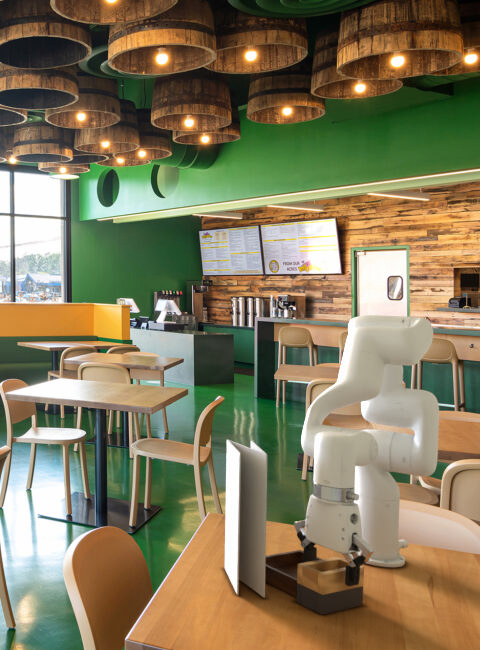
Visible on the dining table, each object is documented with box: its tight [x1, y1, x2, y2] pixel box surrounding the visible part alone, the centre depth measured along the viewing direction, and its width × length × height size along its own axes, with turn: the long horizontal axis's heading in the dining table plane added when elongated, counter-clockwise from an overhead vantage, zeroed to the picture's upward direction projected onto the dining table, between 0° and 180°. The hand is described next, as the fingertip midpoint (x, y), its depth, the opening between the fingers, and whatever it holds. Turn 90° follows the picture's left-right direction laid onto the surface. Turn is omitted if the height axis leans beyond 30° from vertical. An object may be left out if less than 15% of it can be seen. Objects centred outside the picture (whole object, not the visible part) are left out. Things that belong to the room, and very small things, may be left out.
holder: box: [265, 549, 323, 598], centre depth 149 cm, size 16×13×4 cm
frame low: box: [295, 583, 364, 615], centre depth 137 cm, size 12×6×4 cm, turn 114°
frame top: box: [297, 556, 365, 595], centre depth 137 cm, size 12×6×4 cm, turn 114°
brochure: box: [224, 439, 268, 598], centre depth 146 cm, size 14×6×30 cm, turn 169°
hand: (330, 575), depth 137 cm, fingers open, 9 cm apart
